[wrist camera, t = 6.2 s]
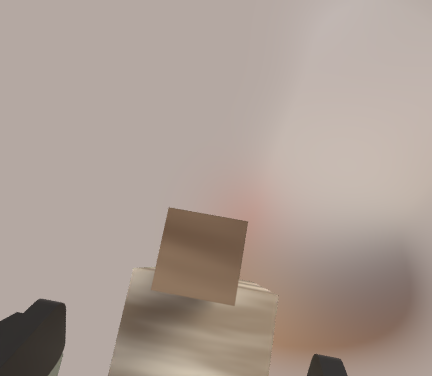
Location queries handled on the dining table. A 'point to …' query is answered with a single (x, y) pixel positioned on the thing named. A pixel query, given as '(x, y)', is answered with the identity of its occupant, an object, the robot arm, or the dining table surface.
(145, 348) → the stand
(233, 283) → the walnut bar
